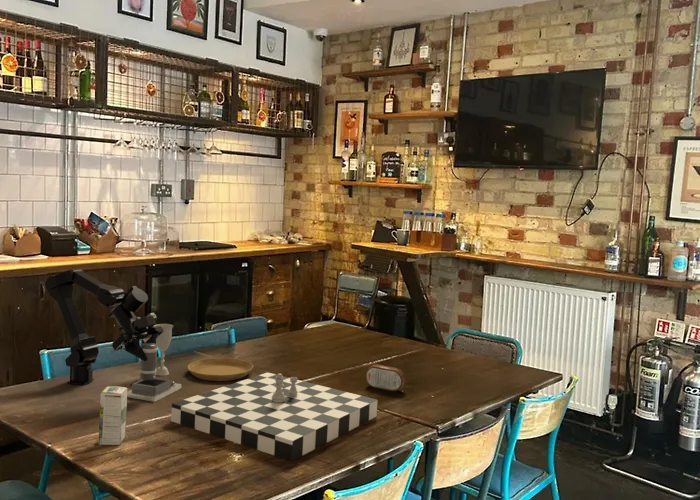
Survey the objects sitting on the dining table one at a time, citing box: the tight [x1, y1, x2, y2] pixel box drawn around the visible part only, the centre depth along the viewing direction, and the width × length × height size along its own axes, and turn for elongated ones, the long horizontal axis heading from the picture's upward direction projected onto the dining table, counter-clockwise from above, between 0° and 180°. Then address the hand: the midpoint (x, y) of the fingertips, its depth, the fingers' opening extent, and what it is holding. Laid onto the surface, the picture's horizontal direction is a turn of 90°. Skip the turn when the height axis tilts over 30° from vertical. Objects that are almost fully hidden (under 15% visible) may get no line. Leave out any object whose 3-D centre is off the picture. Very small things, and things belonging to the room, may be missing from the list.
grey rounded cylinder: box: [139, 342, 159, 380], centre depth 215 cm, size 5×5×11 cm
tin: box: [364, 363, 406, 392], centre depth 241 cm, size 15×3×8 cm, turn 65°
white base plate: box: [127, 377, 182, 403], centre depth 222 cm, size 11×16×4 cm
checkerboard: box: [170, 372, 379, 462], centre depth 204 cm, size 45×45×15 cm
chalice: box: [153, 323, 174, 377], centre depth 244 cm, size 7×7×18 cm
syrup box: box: [98, 385, 128, 446], centre depth 179 cm, size 6×6×14 cm
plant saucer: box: [187, 357, 254, 382], centre depth 249 cm, size 24×24×3 cm
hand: (152, 358), depth 215 cm, fingers closed on grey rounded cylinder, 5 cm apart
